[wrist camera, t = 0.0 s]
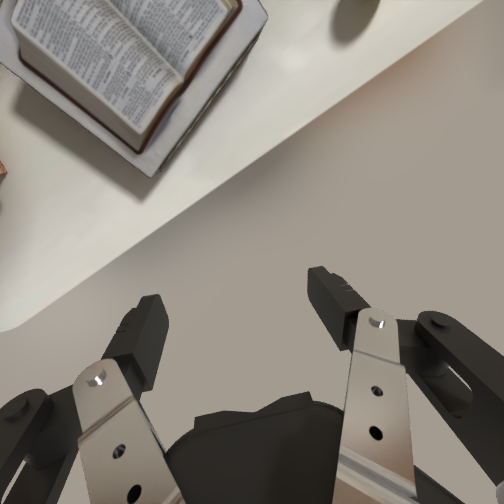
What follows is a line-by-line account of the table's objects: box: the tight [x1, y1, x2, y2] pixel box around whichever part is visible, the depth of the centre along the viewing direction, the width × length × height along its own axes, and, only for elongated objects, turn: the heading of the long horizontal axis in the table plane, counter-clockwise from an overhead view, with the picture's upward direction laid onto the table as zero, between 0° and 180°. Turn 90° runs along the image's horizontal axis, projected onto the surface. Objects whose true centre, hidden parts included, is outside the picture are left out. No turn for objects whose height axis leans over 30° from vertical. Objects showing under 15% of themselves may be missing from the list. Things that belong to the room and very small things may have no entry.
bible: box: [0, 0, 268, 178], centre depth 24 cm, size 23×27×10 cm
